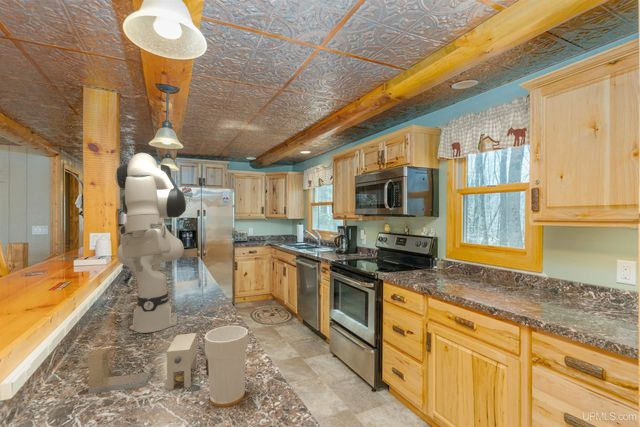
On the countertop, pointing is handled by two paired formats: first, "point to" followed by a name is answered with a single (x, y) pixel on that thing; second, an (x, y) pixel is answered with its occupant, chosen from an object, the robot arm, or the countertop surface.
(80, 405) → the countertop surface
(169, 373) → the notched cream block
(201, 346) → the kitchen cleaver
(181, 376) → the brass token
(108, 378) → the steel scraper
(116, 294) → the countertop surface
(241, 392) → the cup
